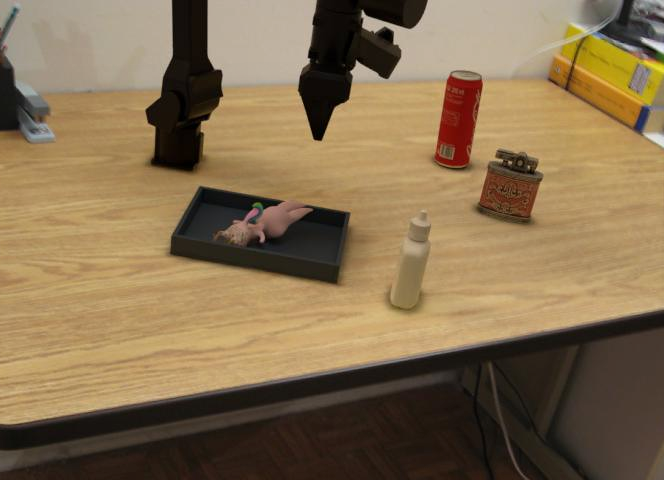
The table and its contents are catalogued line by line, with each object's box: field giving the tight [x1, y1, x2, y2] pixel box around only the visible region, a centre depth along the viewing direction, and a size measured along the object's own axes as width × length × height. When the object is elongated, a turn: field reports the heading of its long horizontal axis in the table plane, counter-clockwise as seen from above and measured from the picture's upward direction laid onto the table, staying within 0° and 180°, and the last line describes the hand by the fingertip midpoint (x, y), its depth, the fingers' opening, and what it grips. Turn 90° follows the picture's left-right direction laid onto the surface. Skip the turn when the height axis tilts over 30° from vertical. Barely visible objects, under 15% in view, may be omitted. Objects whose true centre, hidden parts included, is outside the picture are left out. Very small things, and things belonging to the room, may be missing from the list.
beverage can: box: [434, 69, 484, 169], centre depth 141 cm, size 6×6×15 cm
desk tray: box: [169, 185, 351, 285], centre depth 114 cm, size 21×15×3 cm
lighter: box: [476, 147, 544, 225], centre depth 128 cm, size 8×3×10 cm, turn 71°
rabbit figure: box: [213, 199, 313, 247], centre depth 113 cm, size 6×6×15 cm
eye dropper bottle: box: [389, 209, 432, 310], centre depth 104 cm, size 4×6×12 cm
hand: (320, 127), depth 114 cm, fingers open, 9 cm apart
